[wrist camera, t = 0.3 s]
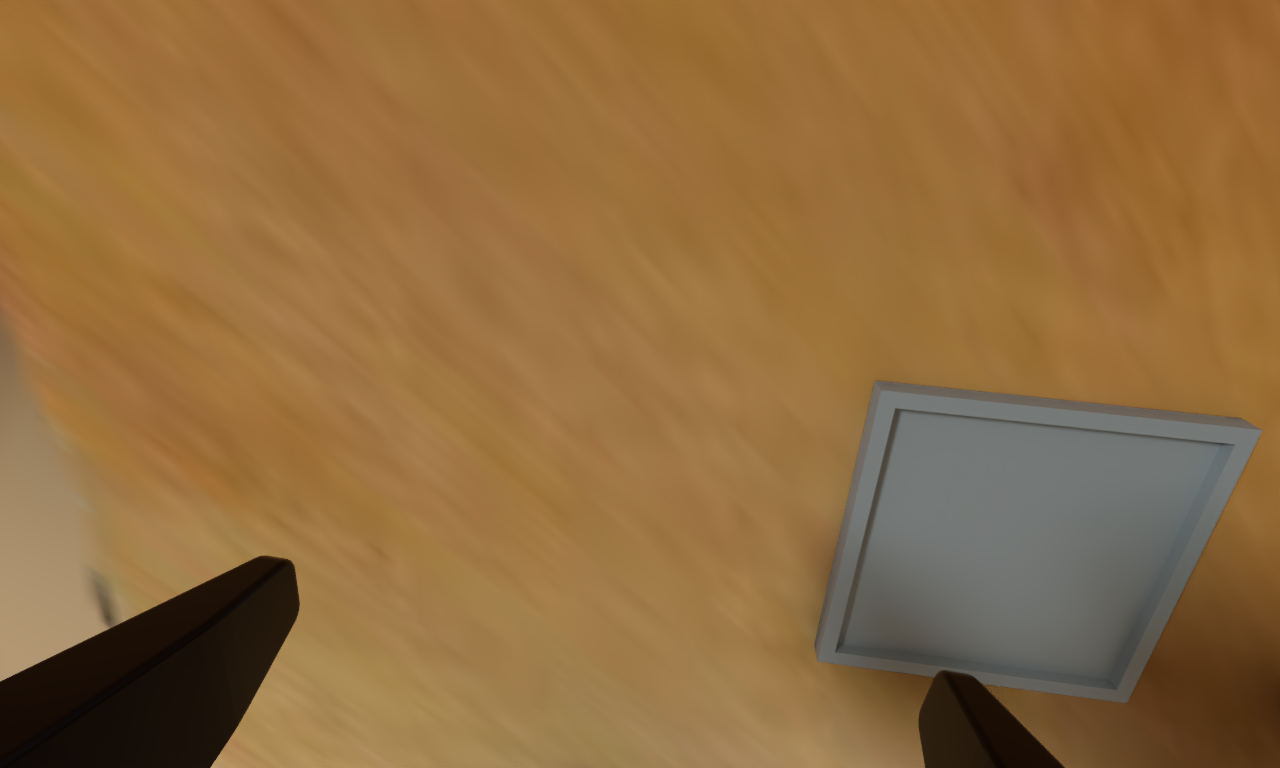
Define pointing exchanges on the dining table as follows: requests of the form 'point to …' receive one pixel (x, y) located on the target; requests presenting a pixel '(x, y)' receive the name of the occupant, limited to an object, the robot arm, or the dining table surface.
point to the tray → (1022, 536)
